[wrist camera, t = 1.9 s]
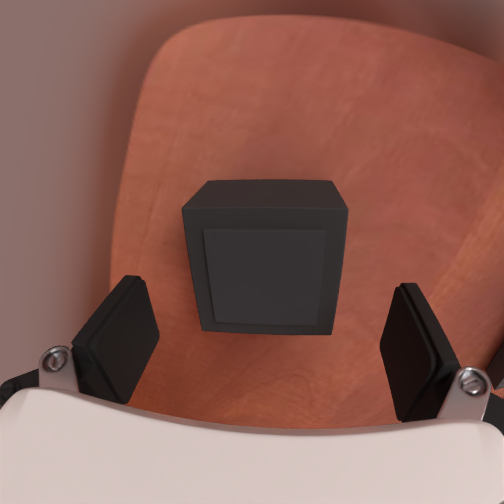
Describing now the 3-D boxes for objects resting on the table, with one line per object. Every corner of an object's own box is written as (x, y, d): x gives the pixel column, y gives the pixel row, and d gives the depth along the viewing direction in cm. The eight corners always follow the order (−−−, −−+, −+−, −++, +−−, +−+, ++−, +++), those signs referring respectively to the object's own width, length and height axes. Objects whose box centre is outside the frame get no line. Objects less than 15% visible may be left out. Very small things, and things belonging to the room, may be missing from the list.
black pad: (207, 180, 14) (179, 209, 10) (332, 180, 13) (349, 210, 10) (218, 283, 17) (200, 334, 13) (324, 286, 16) (332, 338, 12)
